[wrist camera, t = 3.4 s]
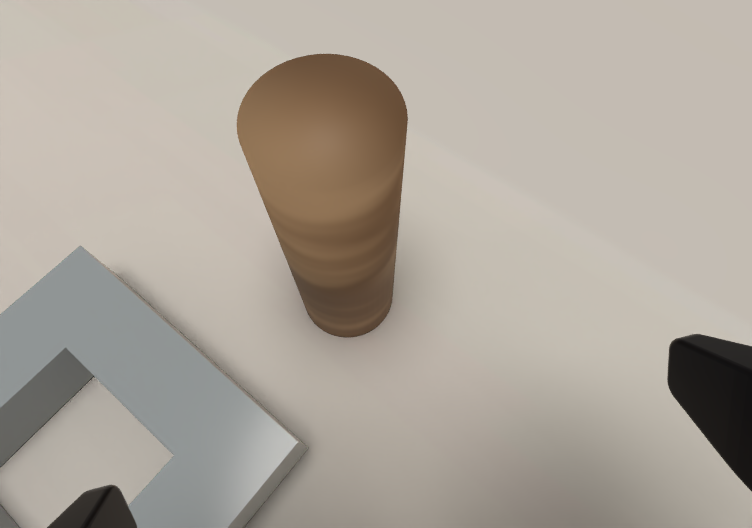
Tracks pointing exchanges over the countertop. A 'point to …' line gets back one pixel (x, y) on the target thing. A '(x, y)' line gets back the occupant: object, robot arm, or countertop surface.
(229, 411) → the socket
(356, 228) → the peg
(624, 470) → the countertop surface
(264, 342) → the countertop surface
